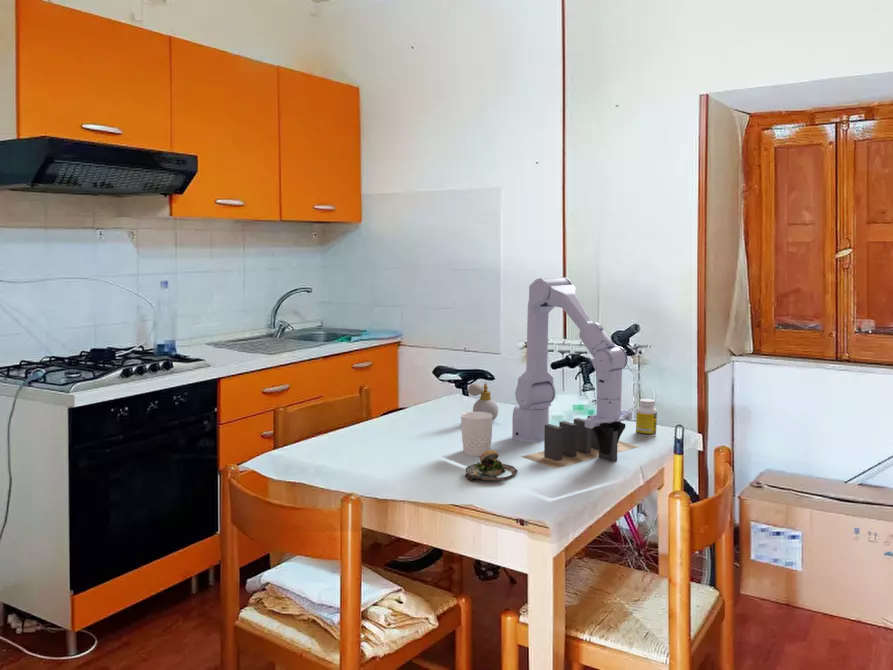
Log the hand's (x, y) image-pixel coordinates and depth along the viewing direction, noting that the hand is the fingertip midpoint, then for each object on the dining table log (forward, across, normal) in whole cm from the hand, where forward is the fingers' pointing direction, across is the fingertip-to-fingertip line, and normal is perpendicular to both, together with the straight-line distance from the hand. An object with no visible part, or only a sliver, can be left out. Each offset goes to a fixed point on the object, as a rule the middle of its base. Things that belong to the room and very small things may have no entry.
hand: (607, 452), depth 187 cm
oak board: (+2, 0, +9) cm, 9 cm away
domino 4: (+2, +5, +9) cm, 10 cm away
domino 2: (+2, -5, +9) cm, 10 cm away
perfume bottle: (+2, +1, +49) cm, 49 cm away
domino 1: (+2, -10, +9) cm, 13 cm away
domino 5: (+2, 0, 0) cm, 2 cm away
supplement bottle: (+2, +27, +10) cm, 29 cm away
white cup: (+2, -21, +24) cm, 32 cm away
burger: (+3, -29, +9) cm, 31 cm away
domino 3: (+2, 0, +9) cm, 9 cm away
